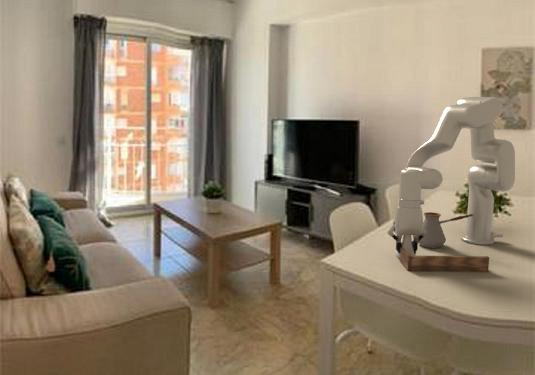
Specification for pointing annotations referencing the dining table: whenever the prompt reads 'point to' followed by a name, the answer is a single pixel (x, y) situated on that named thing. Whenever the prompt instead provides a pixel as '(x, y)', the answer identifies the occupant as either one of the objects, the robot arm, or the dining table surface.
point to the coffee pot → (435, 230)
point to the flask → (407, 245)
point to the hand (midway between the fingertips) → (406, 251)
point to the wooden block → (444, 262)
